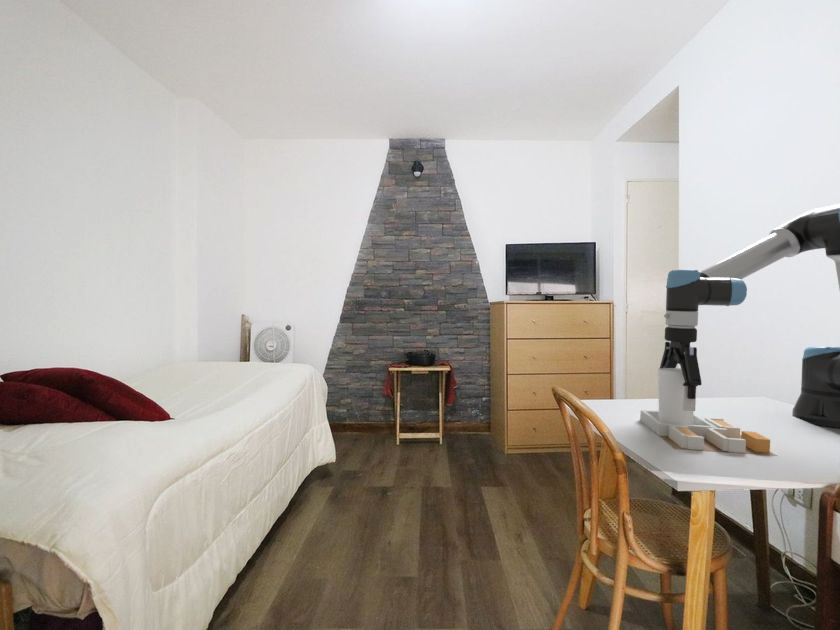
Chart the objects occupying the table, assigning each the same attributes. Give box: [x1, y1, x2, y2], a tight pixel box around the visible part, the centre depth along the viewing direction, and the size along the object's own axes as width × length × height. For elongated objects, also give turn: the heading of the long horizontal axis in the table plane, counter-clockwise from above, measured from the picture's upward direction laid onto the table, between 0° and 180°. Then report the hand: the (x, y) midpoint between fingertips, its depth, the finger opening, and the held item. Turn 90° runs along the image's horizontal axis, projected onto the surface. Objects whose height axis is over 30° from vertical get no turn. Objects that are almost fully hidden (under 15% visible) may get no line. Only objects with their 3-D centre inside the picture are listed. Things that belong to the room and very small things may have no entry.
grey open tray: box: [706, 428, 746, 454], centre depth 107 cm, size 4×9×3 cm, turn 171°
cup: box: [657, 367, 694, 425], centre depth 120 cm, size 8×8×16 cm
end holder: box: [639, 409, 718, 438], centre depth 119 cm, size 14×14×3 cm
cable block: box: [740, 430, 771, 452], centre depth 105 cm, size 3×6×3 cm, turn 171°
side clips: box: [669, 417, 741, 451], centre depth 112 cm, size 18×19×3 cm
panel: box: [645, 424, 778, 457], centre depth 114 cm, size 22×24×1 cm
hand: (677, 404), depth 119 cm, fingers open, 13 cm apart
